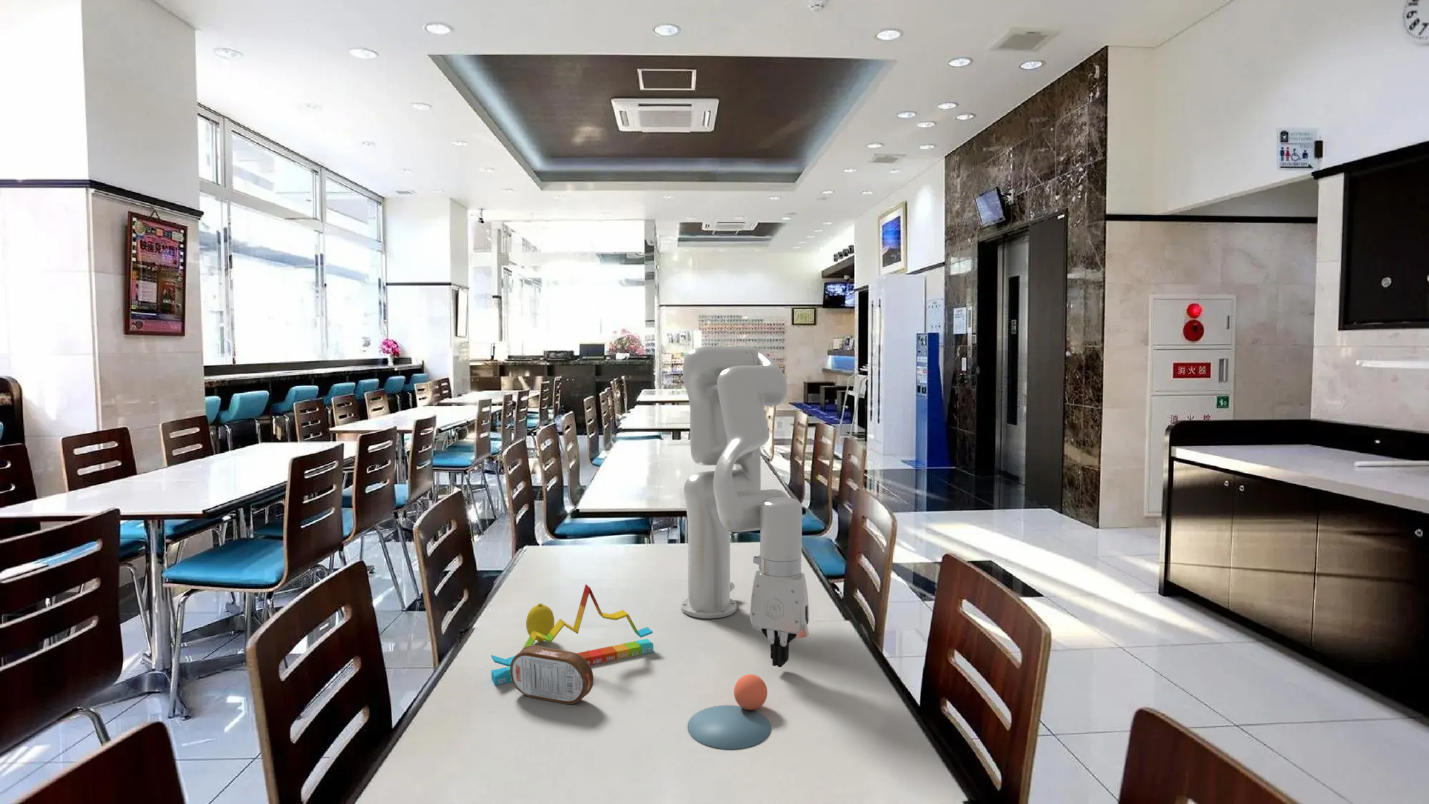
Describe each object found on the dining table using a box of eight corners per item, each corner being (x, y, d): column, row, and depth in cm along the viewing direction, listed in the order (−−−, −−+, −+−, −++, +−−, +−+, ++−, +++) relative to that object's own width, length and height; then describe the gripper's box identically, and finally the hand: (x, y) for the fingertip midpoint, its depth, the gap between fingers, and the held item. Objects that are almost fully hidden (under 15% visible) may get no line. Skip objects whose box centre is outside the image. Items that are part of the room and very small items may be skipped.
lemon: (547, 648, 144) (547, 609, 143) (521, 646, 145) (521, 607, 145) (559, 638, 149) (558, 599, 149) (533, 635, 150) (533, 597, 150)
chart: (495, 687, 128) (493, 604, 127) (491, 680, 131) (490, 598, 130) (653, 653, 143) (653, 578, 142) (647, 648, 146) (647, 574, 144)
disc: (710, 699, 123) (710, 698, 123) (782, 717, 118) (782, 716, 117) (672, 736, 112) (672, 735, 112) (750, 757, 106) (750, 756, 106)
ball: (741, 697, 124) (742, 666, 124) (772, 704, 122) (772, 672, 121) (728, 711, 119) (728, 679, 119) (759, 719, 117) (759, 686, 116)
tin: (594, 701, 123) (594, 652, 122) (585, 710, 120) (585, 660, 119) (518, 687, 128) (517, 640, 127) (507, 695, 125) (506, 647, 124)
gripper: (734, 565, 133) (734, 663, 134) (813, 577, 126) (811, 680, 127) (751, 555, 139) (750, 648, 141) (826, 566, 133) (824, 663, 134)
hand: (779, 663), depth 134 cm, fingers closed
